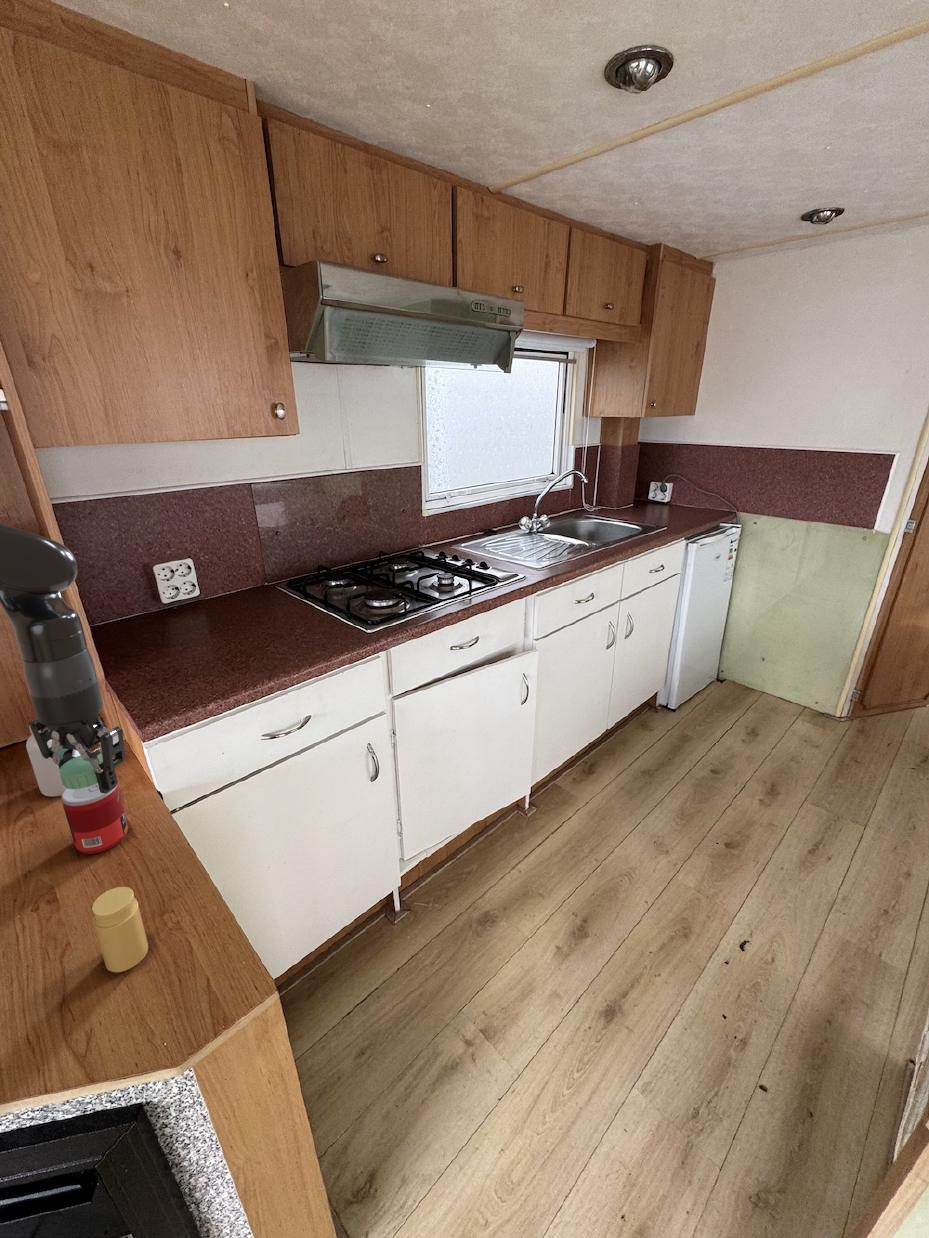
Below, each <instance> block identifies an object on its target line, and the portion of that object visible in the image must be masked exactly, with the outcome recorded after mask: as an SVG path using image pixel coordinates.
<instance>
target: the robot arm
mask: <svg viewBox="0 0 929 1238" xmlns="http://www.w3.org/2000/svg"><path fill="white" fill-rule="evenodd" d="M78 575H79V564H78V561H77V558H76V556H75V555H74V554H73V552H72V551H71V550H70V549H69V548H68V547H67V546H65V545H64V544H62V543H61V542H59V541H57V540H54V539H51V538H49V537H46V536H44V535H39V534H37V533H34V532H30V531H27V530H24V529H20V528H17V527H14V526H11V525H7V524H4V523H1V522H0V605H1V607H2V609H3V610H4V612H5V614H6V615H7V617H8V619H9V620H10V622H11V625H12V628H13V630H14V631H13V632H14V635H15V639H16V642H17V646H18V649H19V652H20V656H21V662H22V667H23V668H22V669H23V675H24V680H25V684H26V687H27V690H28V692H29V693H28V694H29V697H30V700H31V704H32V708H33V710H34V713H35V717H36V718H35V719H34V720H31V721H30V722H29V724H28V726H29V725H30V728H31V730H32V732H33V735H34V737H35V740H36V742H37V744H38V747H39V749H40V751H41V754H42V756H43V757H44V758H45V759H48V758H49V757H51V758H53V762H54V763H55V764H58V766H59V770H60V768H61V766H62V765H63V764H65V763H66V762H67V761H69V760H71V759H73V758H75V757H74V756H73V755H74V754H75V750H77V751H78V752H79V754H80V755H81V757H82V758H83V760H85V761H89V762H90V764H91V765H92V767H93V768H94V770H95V771H96V772H95V774H96V778H97V781H98V786H99V790H100V792H101V793H104V794H107V793H108V792H110V791H111V790H112V789H114V788H115V787H116V786H117V783H118V784H119V781H118V778H117V773H116V770H115V768H117V767H119V766H120V765H121V764H123V763H125V762H126V751H125V741H124V731H123V729H122V727H120V726H118V725H117V726H115V727H113V728H109V727H105V724H104V722H103V721H102V720H101V718H100V713H101V710H102V708H103V705H104V701H103V696H102V692H101V688H100V685H99V680H98V676H97V672H96V668H95V663H94V660H93V657H92V655H91V653H90V650H89V648H88V643H87V639H86V635H85V631H84V628H83V627H84V626H83V623H82V620H81V617H80V616H79V613H78V612H77V610H76V609H75V608H73V606H70V604H68V603H67V602H66V601H65V599H64V597H63V595H62V593H61V592H64V591H66V590H67V589H69V588H70V587H71V586H72V585H73V584H74V583H75V581H76V579H77V577H78ZM30 728H29V729H30ZM51 739H52V746H51V747H50V748H49V747H48V745H47V742H48V741H49V740H51ZM97 744H98V746H97ZM95 746H97V748H95V749H93V750H92V751H90V749H92V748H93V747H95ZM99 754H102V757H103V761H102V762H100V761H99V759H98V758H97V756H98V755H99Z"/></svg>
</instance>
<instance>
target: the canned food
mask: <svg viewBox="0 0 929 1238" xmlns="http://www.w3.org/2000/svg"><path fill="white" fill-rule="evenodd" d="M61 802H62V807H63V810H64V813H65V817H66V821H67V824H68V827H69V829H70V831H69V832H70V834H71V838H72V840H73V844H74V847H75V849H76V850H77V851H79V852H80V853H82V854H87V855H92V854H93V855H94V854H98V853H99V854H100V853H102V852H105V851H108V850H110V849H112V848H114V847H115V846H117V845H118V844H120V843H121V842H122V841H123V840H124V839H125V838H126V836H127V834H128V828H129V824H128V821H127V817H126V812H125V808H124V803H123V799H122V795H121V791H120V787H119V782H118V783H117V786H116V787H115V788H114V789H112V790H111V791H110V792H108V793H107V794H104V793H101V792H100V790H99V786H98V783H97V784H95V785H92V786H89V787H86V788H81V789H68V788H66V789H65V790H64V791H63V793H62V795H61Z"/></svg>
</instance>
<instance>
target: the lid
mask: <svg viewBox="0 0 929 1238" xmlns="http://www.w3.org/2000/svg"><path fill="white" fill-rule="evenodd" d="M97 758H98V759H99V761H100V762H102V761H103V757H102V754H99V755H98V756H97ZM59 772H60V777H61V780H62V783H63V785H64V786H65V787H66V788H68V789H81V788H86V787H89V786H92V785H95V784H97V783H98V781H97V778H96V774H95V772H96V771H95V770H94V768H93V767H92V765H91V764H90V762H89V761H85V760H83V758H82V757H81V755H80V756H77V757H75V758H73V759H71V760H69V761H67V762H66V763H65V764H63V765H62V766H61V768H60V770H59Z"/></svg>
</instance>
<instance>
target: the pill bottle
mask: <svg viewBox="0 0 929 1238" xmlns="http://www.w3.org/2000/svg"><path fill="white" fill-rule="evenodd" d="M28 728H29V731H30V734H31V735H30V736H29V737H28V739H27V740H26V744H25V748H26V752H27V754H28V758H29V760H30V764H31V767H32V770H33V773H34V777H35V779H36V782H37V785H38V788H39V791H40V793H41V794H42V795H44V796H46V797H50V798H51V797H52V798H53V797H62V793H63V791H64V790H65V789H66V787H65V786H64V785H63V783H62V780H61V777H60V772H59V766H58V764H55V763H54V762H53V758H51V757H49V758H48V759H45V758H44V757H43V756H42V754H41V751H40V749H39V747H38V744H37V742H36V740H35V737H34V735H33V732H32V730H31V728H30V725H29V724H28ZM47 745H48V747H49V748H50V747H51V746H52V739H51V740H49V741H48V742H47ZM73 756H74V757H77V756H80V754H79V752H78V751H77V750H75V754H74V755H73Z"/></svg>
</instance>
